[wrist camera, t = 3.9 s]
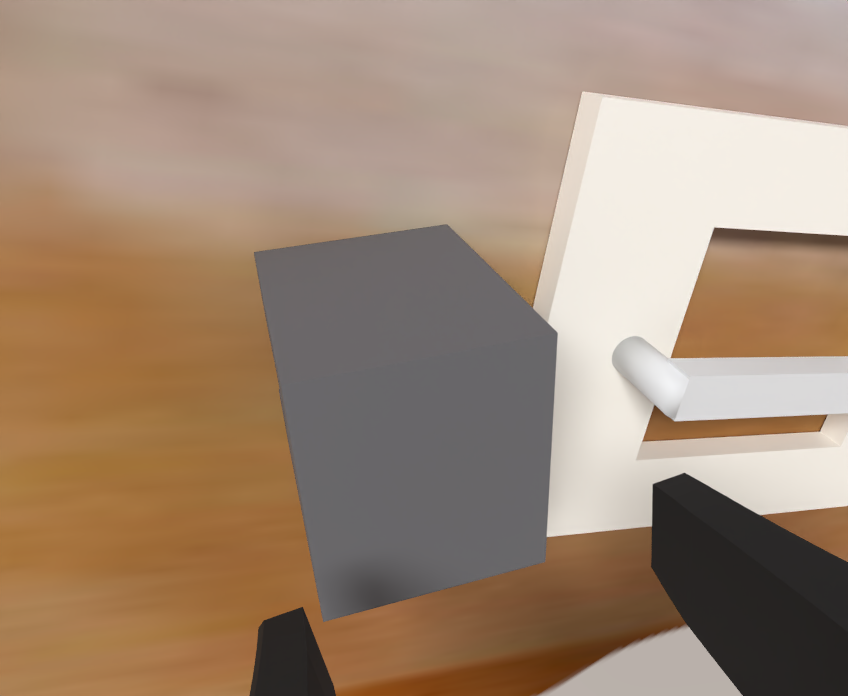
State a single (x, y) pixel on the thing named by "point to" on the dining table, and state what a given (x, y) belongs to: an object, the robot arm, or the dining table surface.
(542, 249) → the dining table surface
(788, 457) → the cream frame with handle
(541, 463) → the notched grey block
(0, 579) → the dining table surface
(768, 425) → the dining table surface
